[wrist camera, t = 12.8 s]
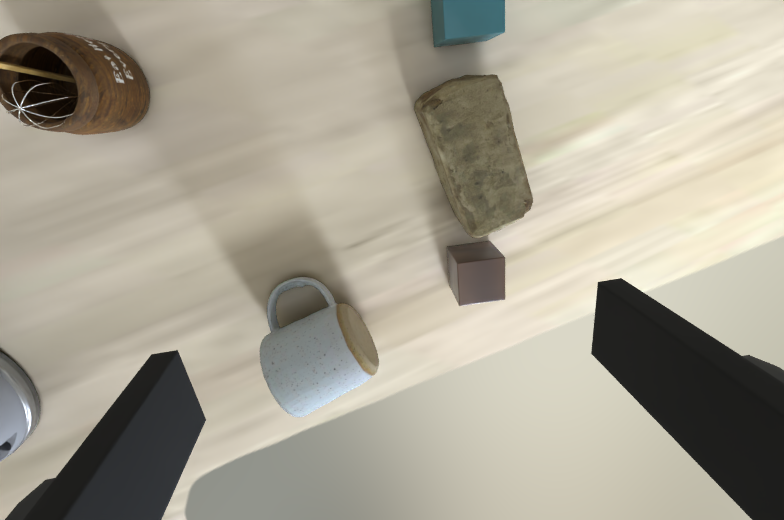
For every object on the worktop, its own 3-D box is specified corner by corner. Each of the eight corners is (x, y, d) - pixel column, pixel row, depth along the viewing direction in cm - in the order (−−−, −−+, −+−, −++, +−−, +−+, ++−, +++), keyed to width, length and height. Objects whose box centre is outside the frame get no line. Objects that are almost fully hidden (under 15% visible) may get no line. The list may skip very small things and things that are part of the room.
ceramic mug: (382, 342, 38) (387, 395, 31) (311, 377, 39) (300, 437, 32) (325, 255, 35) (315, 293, 27) (248, 296, 36) (220, 344, 28)
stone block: (457, 227, 34) (472, 246, 30) (407, 99, 30) (415, 99, 26) (518, 200, 34) (543, 215, 29) (476, 66, 30) (497, 59, 25)
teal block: (433, 47, 29) (444, 39, 25) (429, -17, 27) (440, -35, 24) (486, 41, 29) (505, 32, 25) (485, -23, 28) (505, -42, 24)
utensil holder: (139, 145, 30) (11, 172, 19) (51, 100, 28) (-147, 101, 17) (165, 72, 28) (40, 54, 17) (72, 20, 27) (-132, -37, 15)
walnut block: (449, 285, 37) (459, 306, 33) (446, 246, 35) (456, 263, 31) (490, 280, 37) (505, 299, 33) (490, 240, 35) (505, 256, 32)
